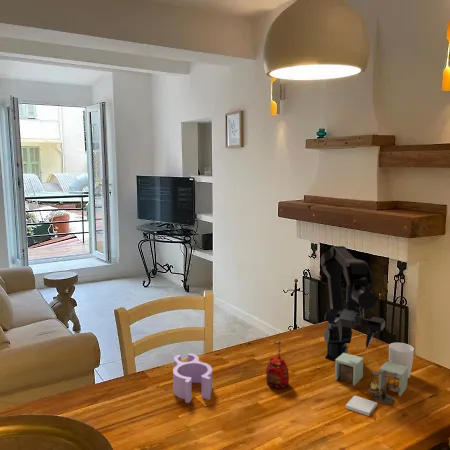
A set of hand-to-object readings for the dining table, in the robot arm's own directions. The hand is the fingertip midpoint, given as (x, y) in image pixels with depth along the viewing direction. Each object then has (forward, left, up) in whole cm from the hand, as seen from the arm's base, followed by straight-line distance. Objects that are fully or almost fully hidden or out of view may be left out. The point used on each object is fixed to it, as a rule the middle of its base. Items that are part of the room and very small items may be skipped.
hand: (353, 344), depth 151 cm
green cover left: (-1, -1, -12) cm, 12 cm away
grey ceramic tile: (+9, -16, -12) cm, 22 cm away
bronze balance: (+13, -8, -12) cm, 19 cm away
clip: (-40, -37, -12) cm, 56 cm away
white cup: (+12, +12, -12) cm, 21 cm away
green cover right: (+13, +1, -12) cm, 18 cm away
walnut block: (-1, -1, -12) cm, 12 cm away
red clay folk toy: (-18, -19, -12) cm, 29 cm away
